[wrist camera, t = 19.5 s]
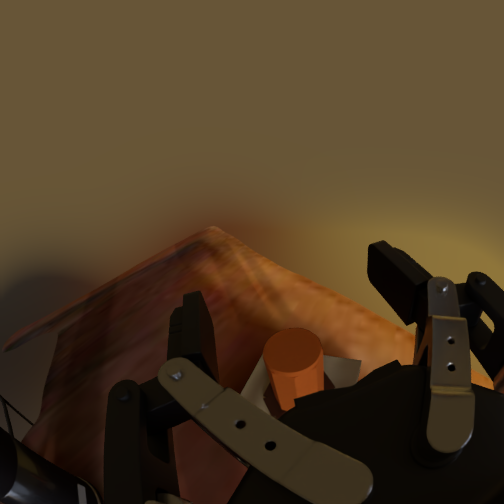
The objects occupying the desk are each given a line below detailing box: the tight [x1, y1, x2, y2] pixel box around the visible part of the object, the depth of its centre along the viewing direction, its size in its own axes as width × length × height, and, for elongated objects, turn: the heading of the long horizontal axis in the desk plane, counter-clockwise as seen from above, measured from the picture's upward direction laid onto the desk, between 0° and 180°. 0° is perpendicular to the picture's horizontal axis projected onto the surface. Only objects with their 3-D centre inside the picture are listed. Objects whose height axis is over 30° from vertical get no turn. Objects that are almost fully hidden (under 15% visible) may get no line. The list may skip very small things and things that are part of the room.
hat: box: [263, 328, 335, 419], centre depth 26 cm, size 8×8×9 cm
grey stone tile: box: [240, 354, 361, 418], centre depth 29 cm, size 13×13×2 cm
